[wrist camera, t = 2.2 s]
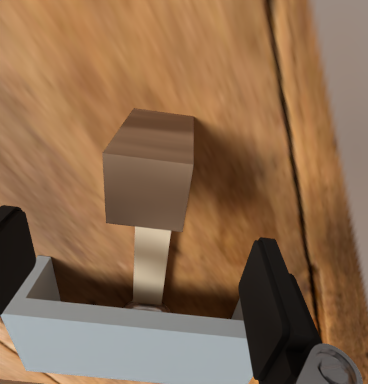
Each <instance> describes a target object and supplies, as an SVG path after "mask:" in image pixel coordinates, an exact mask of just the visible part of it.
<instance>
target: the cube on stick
mask: <svg viewBox="0 0 368 384" xmlns="http://www.w3.org/2000/svg"><path fill="white" fill-rule="evenodd" d="M193 166H194V117H193V116H186V115H179V114H171V113H164V112H157V111H150V110H142V109H135V108H134V109H133V110H132V112H131V113H130V115H129V116H128V117H127V119H126V120H125V122H124V123H123V124H122V126H121V127H120V129H119V130H118V132H117V133H116V134H115V136H114V137H113V139H112V140H111V142H110V143H109V144H108V146H107V147H106V149H105V150H104V152H103V173H104V192H105V212H106V223H110V224H118V225H127V226H135V250H134V282H133V302H137V303H147V304H156V305H161V303H162V295H163V288H164V280H165V273H166V265H167V258H168V250H169V243H170V235H171V231H178V232H183V226H184V220H185V214H186V208H187V202H188V196H189V190H190V184H191V178H192V172H193Z"/></svg>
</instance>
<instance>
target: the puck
mask: <svg viewBox="0 0 368 384" xmlns="http://www.w3.org/2000/svg"><path fill="white" fill-rule="evenodd" d="M124 308H126V309H136V310H146V311H155V312H165V313H171V312H170V310H169V308H168V307H167V306H166V305H164V304H163V303H161V305H156V304H147V303H137V302H133V300H132V301H130V302H128V303H127V304H126V305H125V306H124Z"/></svg>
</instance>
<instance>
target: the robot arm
mask: <svg viewBox="0 0 368 384" xmlns="http://www.w3.org/2000/svg"><path fill="white" fill-rule="evenodd" d="M35 264H36V256H35V252H34V247H33V243H32V239H31V235H30V231H29V226H28V222H27V218H26V214H25V212H23V211H22V210H21V208H19V207H14V206H6V205H3V206H1V207H0V316H1V315H2V313H3V312H4V310H5V309H6V307H7V306H8V305H9V303H10V302H11V300H12V299H13V297H14V296H15V294H16V293H17V292H18V290H19V289H20V287H21V286H22V284H23V283H24V282H25V280H26V279H27V277H28V276H29V274H30V273H31V271H32V270H33V269H34V267H35ZM239 296H240V302H241V308H242V314H243V320H244V326H245V331H246V337H247V343H248V349H249V355H250V361H251V367H252V372H253V377H254V379H255V380H258V381H259V384H363V381H362V377H361V374H360V372H359V370H358V368H357V366H356V365H355V363H354V362H353V361H352V360H351V359H350V357H349V356H347V355H346V354H345V353H344V352H343V351H341V350H340V349H338V348H336V347H335V346H332V345H329V344H322V341H321V339H320V337H319V334H318V332H317V329H316V327H315V325H314V322H313V320H312V317H311V315H310V312H309V310H308V308H307V305H306V303H305V300H304V298H303V296H302V293H301V291H300V288H299V286H298V284H297V281H296V279H295V277H294V276H293V275H292V274H289V272H288V270H287V267H286V265H285V262H284V260H283V257H282V255H281V252H280V250H279V247H278V245H277V242H276V240H275V239H270V238H262V237H261V238H259V240H258V241H257V240H255V241H254V243H253V246H252V249H251V252H250V255H249V257H248V260H247V263H246V266H245V268H244V271H243V274H242V277H241V280H240V282H239ZM0 384H42V383H32V382H21V381H11V380H1V379H0Z"/></svg>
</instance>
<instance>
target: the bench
mask: <svg viewBox="0 0 368 384" xmlns="http://www.w3.org/2000/svg"><path fill="white" fill-rule="evenodd" d="M1 318H2V320H3V322H4V324H5V327H6V329H7V331H8V333H9V335H10V337H11V339H12V342H13V344H14V346H15V348H16V350H17V352H18V354H19V356H20V359H21V361H22V363H23V365H24V367H25V369H26V371H35V372H45V373H56V374H67V375H78V376H89V377H99V378H110V379H121V380H132V381H143V382H153V383H164V384H248V383H249V381H250V380H251V378H252V377H253V372H252V367H251V361H250V355H249V349H248V343H247V337H246V331H245V326H244V320H243V314H242V308H241V302H240V298H239V301H238V303H237V306H236V308H235V311H234V313H233V316H232V318H231V319H222V318H213V317H203V316H193V315H184V314H174V313H165V312H155V311H146V310H136V309H126V308H117V307H107V306H98V305H88V304H79V303H69V302H61V300H60V295H59V291H58V287H57V282H56V278H55V273H54V269H53V265H52V260H51V257H48V256H39V255H38V257H37V258H36V264H35V267H34V269H33V270H32V271H31V273H30V274H29V276H28V277H27V279H26V280H25V282H24V283H23V284H22V286H21V287H20V289H19V290H18V292H17V293H16V294H15V296H14V297H13V299H12V300H11V302H10V303H9V305H8V306H7V307H6V309H5V310H4V312H3V313H2V315H1Z"/></svg>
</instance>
